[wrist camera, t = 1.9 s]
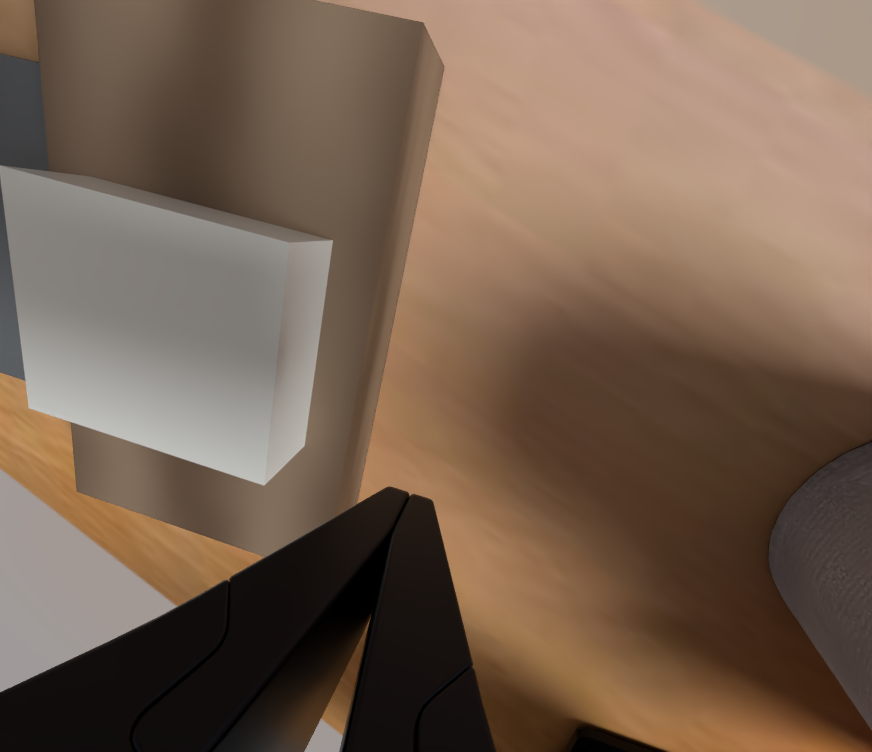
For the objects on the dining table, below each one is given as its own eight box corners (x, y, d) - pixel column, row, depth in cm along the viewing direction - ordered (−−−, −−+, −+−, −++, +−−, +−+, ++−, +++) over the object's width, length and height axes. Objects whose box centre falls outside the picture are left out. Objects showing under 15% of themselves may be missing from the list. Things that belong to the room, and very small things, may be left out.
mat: (115, 82, 15) (105, 78, 15) (126, 407, 20) (118, 410, 19) (-141, 21, 16) (-157, 16, 16) (-74, 342, 21) (-85, 344, 20)
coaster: (333, 240, 12) (289, 242, 10) (304, 445, 15) (264, 485, 13) (90, 176, 13) (-2, 165, 11) (102, 381, 16) (29, 408, 13)
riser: (444, 66, 13) (423, 22, 10) (352, 527, 20) (323, 577, 17) (126, -2, 14) (29, -58, 11) (136, 456, 21) (76, 491, 18)
